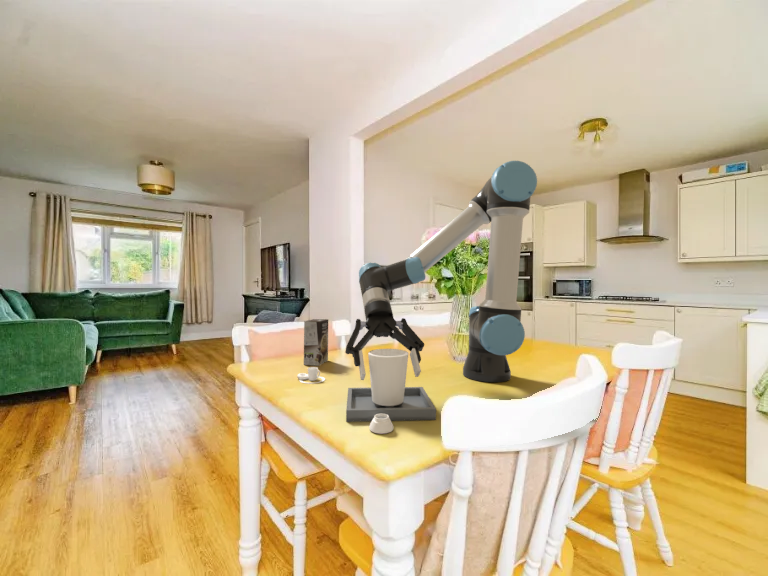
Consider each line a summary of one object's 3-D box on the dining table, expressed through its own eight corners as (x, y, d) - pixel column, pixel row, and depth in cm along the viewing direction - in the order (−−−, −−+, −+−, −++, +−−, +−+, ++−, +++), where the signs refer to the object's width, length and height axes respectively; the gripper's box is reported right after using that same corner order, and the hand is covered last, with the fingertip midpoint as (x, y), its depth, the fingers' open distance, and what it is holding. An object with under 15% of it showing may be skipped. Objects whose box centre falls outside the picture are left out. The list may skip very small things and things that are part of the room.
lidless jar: (398, 431, 72) (383, 423, 76) (398, 417, 72) (383, 409, 75) (378, 437, 69) (364, 429, 72) (379, 423, 68) (364, 415, 72)
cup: (416, 405, 84) (417, 353, 83) (385, 415, 78) (385, 358, 77) (390, 394, 91) (390, 347, 91) (359, 402, 85) (360, 351, 85)
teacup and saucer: (293, 380, 108) (293, 367, 108) (315, 375, 113) (315, 363, 113) (307, 386, 102) (307, 373, 102) (330, 381, 107) (330, 368, 107)
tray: (422, 396, 93) (422, 386, 93) (435, 419, 77) (436, 408, 77) (348, 397, 92) (348, 387, 92) (346, 421, 76) (346, 410, 76)
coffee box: (319, 366, 124) (320, 321, 124) (303, 365, 126) (303, 321, 125) (328, 360, 133) (329, 318, 133) (313, 359, 135) (313, 318, 134)
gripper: (416, 315, 102) (435, 380, 88) (331, 316, 96) (337, 386, 82) (423, 298, 97) (444, 364, 82) (333, 298, 91) (340, 370, 76)
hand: (391, 375), depth 82 cm, fingers open, 13 cm apart
